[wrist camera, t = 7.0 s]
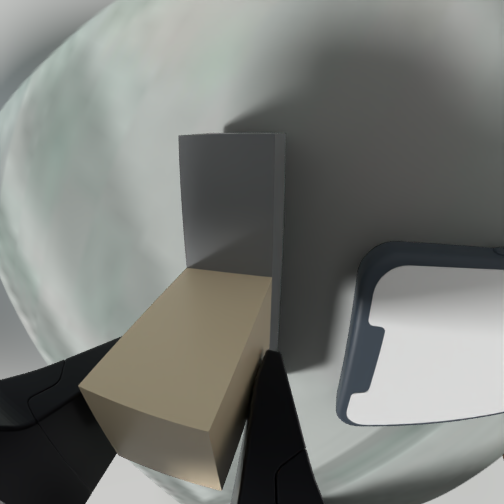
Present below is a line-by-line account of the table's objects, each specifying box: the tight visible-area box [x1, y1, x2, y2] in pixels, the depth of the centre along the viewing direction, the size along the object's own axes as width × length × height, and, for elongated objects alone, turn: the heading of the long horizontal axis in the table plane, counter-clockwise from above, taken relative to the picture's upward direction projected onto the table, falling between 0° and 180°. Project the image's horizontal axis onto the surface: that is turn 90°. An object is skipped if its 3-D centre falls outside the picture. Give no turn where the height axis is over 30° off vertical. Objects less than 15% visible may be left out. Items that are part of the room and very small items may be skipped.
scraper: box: [78, 133, 286, 491], centre depth 8 cm, size 10×2×7 cm, turn 0°
